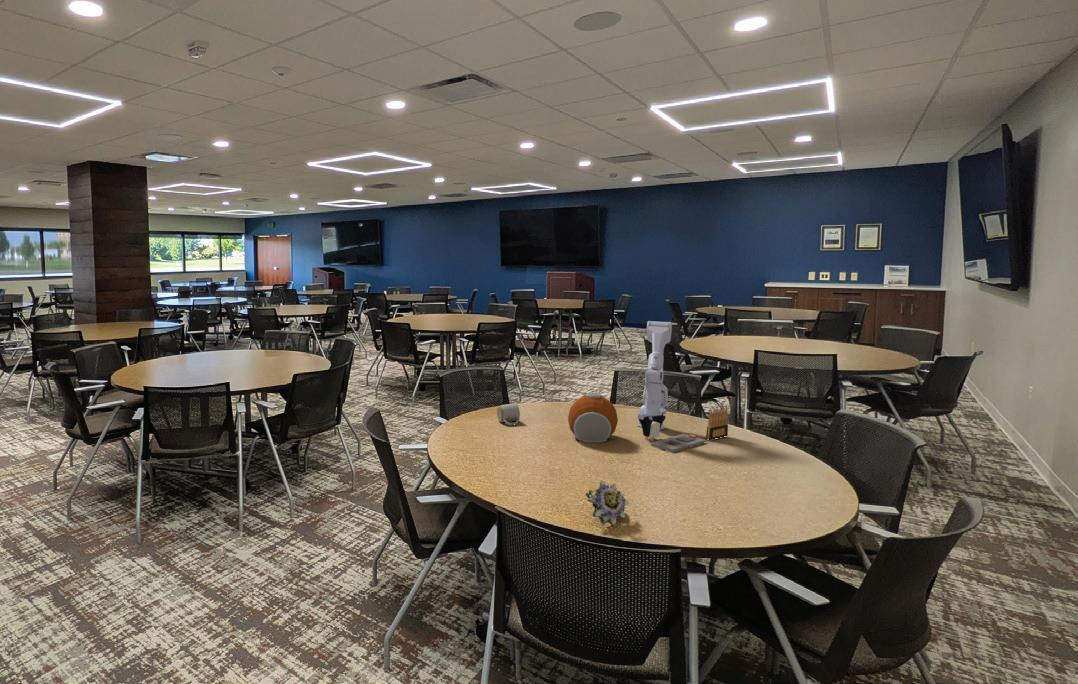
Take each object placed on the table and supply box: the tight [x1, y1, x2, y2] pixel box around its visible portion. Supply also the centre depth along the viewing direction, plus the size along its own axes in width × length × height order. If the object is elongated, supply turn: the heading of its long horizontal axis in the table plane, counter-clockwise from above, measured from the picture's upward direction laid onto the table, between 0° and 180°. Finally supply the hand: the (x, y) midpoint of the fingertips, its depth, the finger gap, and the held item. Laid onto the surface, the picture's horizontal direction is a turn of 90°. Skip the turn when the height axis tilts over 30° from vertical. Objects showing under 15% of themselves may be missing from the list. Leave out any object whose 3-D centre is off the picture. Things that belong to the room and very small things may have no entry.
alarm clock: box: [567, 392, 619, 443], centre depth 221 cm, size 19×18×17 cm
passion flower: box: [585, 479, 630, 526], centre depth 151 cm, size 11×11×12 cm
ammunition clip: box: [705, 406, 729, 441], centre depth 225 cm, size 11×2×12 cm, turn 124°
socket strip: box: [650, 433, 707, 453], centre depth 216 cm, size 10×20×2 cm, turn 130°
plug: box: [642, 421, 661, 442], centre depth 221 cm, size 4×4×7 cm
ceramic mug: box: [496, 402, 521, 426], centre depth 240 cm, size 11×8×8 cm
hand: (651, 434), depth 221 cm, fingers open, 5 cm apart
